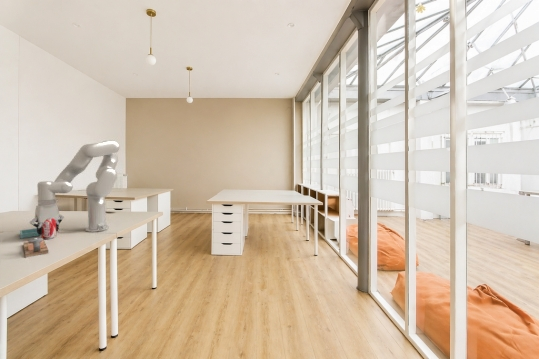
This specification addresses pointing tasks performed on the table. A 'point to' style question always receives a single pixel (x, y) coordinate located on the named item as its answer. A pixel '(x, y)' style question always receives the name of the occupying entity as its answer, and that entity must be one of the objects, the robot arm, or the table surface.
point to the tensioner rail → (31, 252)
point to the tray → (28, 233)
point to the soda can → (48, 229)
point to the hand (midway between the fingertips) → (48, 232)
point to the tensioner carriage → (30, 242)
